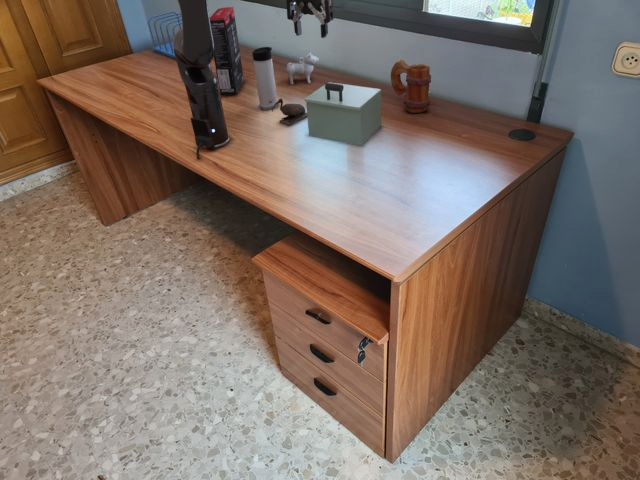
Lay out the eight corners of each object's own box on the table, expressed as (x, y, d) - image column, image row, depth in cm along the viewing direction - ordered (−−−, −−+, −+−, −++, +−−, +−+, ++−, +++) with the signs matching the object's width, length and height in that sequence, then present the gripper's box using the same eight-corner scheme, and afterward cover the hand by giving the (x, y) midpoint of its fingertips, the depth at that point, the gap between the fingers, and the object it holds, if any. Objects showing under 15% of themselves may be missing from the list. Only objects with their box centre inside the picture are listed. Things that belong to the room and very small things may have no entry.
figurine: (279, 131, 151) (275, 104, 146) (269, 127, 154) (266, 101, 148) (310, 116, 159) (307, 90, 154) (300, 113, 161) (298, 87, 156)
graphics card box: (228, 81, 191) (215, 7, 175) (245, 80, 191) (233, 6, 174) (220, 97, 178) (205, 19, 161) (238, 96, 177) (225, 17, 161)
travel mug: (276, 110, 164) (268, 50, 152) (257, 110, 166) (248, 51, 153) (280, 103, 169) (273, 45, 157) (263, 103, 171) (254, 45, 158)
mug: (435, 109, 156) (439, 62, 147) (421, 117, 152) (424, 70, 143) (398, 99, 165) (400, 55, 156) (384, 107, 160) (385, 62, 151)
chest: (361, 145, 140) (360, 109, 133) (309, 135, 147) (305, 100, 140) (380, 127, 149) (381, 92, 142) (330, 118, 156) (328, 84, 150)
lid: (359, 110, 132) (359, 90, 129) (304, 101, 140) (302, 82, 136) (381, 91, 142) (381, 73, 138) (328, 84, 149) (327, 66, 146)
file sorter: (153, 51, 232) (144, 17, 223) (184, 42, 241) (176, 9, 232) (179, 60, 217) (171, 25, 208) (211, 51, 226) (204, 16, 217)
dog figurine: (320, 82, 184) (319, 53, 177) (287, 85, 183) (284, 56, 177) (319, 77, 188) (317, 49, 181) (287, 80, 187) (284, 52, 181)
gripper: (278, -24, 131) (284, 37, 141) (323, -23, 126) (326, 41, 135) (292, -29, 136) (297, 31, 146) (336, -28, 131) (338, 34, 141)
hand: (311, 36), depth 141 cm, fingers open, 8 cm apart
